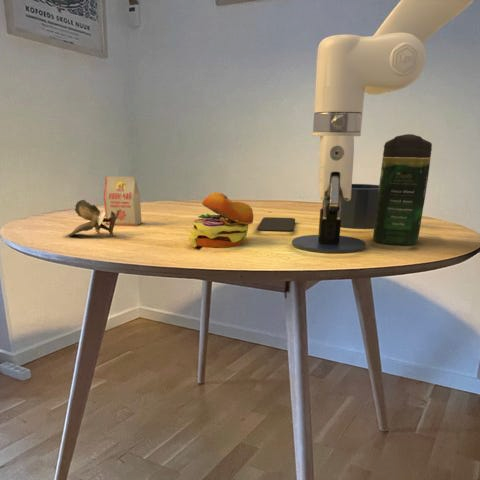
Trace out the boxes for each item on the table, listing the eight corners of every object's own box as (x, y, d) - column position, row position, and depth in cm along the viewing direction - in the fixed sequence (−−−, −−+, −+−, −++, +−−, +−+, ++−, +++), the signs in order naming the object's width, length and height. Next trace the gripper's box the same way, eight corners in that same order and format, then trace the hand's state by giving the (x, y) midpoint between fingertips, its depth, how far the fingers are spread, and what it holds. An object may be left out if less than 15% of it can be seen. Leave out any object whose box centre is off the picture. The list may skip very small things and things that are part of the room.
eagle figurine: (121, 225, 95) (77, 216, 95) (118, 197, 90) (72, 188, 89) (110, 251, 91) (64, 242, 90) (107, 224, 85) (57, 215, 85)
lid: (361, 242, 86) (364, 205, 84) (369, 258, 75) (374, 215, 72) (292, 240, 88) (294, 203, 85) (290, 255, 76) (292, 213, 74)
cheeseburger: (178, 241, 85) (189, 185, 83) (230, 250, 90) (242, 198, 88) (197, 251, 77) (209, 190, 74) (254, 261, 82) (267, 204, 79)
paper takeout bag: (113, 221, 106) (109, 175, 103) (141, 222, 105) (138, 176, 102) (106, 224, 103) (101, 177, 99) (135, 225, 102) (131, 177, 98)
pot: (379, 223, 106) (383, 184, 103) (387, 232, 96) (392, 189, 93) (327, 221, 108) (330, 183, 105) (330, 230, 97) (333, 188, 94)
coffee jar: (417, 250, 80) (434, 133, 73) (370, 246, 82) (382, 133, 76) (418, 240, 88) (434, 134, 82) (375, 236, 91) (387, 134, 84)
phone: (255, 229, 93) (263, 217, 107) (255, 233, 94) (263, 220, 107) (293, 230, 92) (295, 217, 106) (292, 234, 93) (295, 221, 106)
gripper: (367, 124, 66) (355, 252, 73) (356, 127, 81) (346, 232, 88) (314, 124, 67) (306, 251, 74) (312, 127, 82) (306, 231, 89)
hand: (328, 240), depth 81 cm, fingers closed on lid, 3 cm apart
